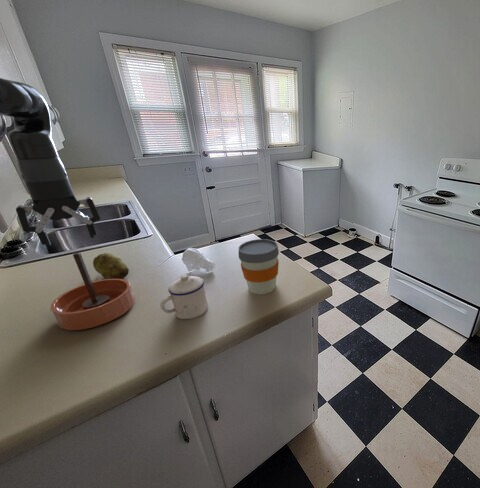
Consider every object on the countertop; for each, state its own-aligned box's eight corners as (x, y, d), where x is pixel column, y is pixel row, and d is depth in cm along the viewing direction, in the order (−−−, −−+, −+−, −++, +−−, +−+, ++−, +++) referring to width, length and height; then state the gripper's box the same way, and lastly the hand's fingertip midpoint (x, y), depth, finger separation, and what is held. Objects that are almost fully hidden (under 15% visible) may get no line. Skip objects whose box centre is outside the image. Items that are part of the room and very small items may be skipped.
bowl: (40, 331, 71) (30, 312, 69) (96, 293, 87) (90, 277, 85) (103, 333, 70) (96, 315, 68) (148, 295, 86) (143, 279, 84)
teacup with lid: (200, 297, 85) (192, 265, 81) (214, 309, 80) (208, 275, 75) (159, 316, 77) (148, 281, 72) (172, 330, 71) (162, 293, 67)
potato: (104, 287, 91) (96, 266, 88) (95, 274, 99) (88, 254, 96) (132, 277, 97) (126, 257, 94) (122, 266, 105) (116, 247, 101)
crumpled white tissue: (191, 244, 102) (218, 250, 100) (193, 263, 106) (220, 270, 103) (178, 250, 97) (206, 257, 94) (181, 271, 100) (209, 278, 98)
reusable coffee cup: (261, 274, 99) (257, 236, 93) (288, 283, 93) (286, 243, 87) (235, 290, 89) (228, 249, 83) (264, 301, 83) (259, 258, 77)
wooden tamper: (81, 317, 75) (56, 260, 68) (90, 305, 80) (68, 250, 73) (107, 313, 77) (85, 256, 70) (114, 301, 82) (94, 247, 75)
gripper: (84, 173, 71) (104, 231, 77) (4, 179, 62) (34, 243, 68) (86, 176, 65) (107, 238, 72) (-2, 183, 57) (31, 253, 63)
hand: (71, 241), depth 70 cm, fingers open, 8 cm apart
